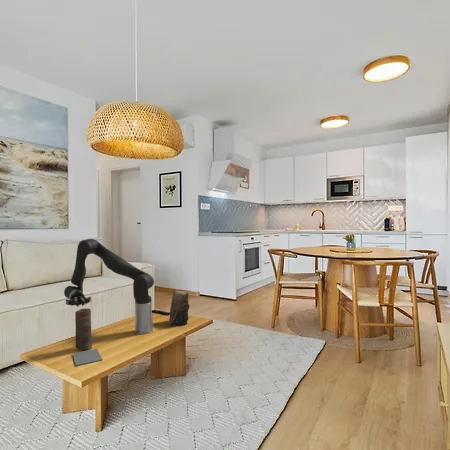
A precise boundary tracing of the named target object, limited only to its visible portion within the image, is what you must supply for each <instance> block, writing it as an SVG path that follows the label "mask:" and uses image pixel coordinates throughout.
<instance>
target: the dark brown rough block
mask: <svg viewBox="0 0 450 450" xmlns="http://www.w3.org/2000/svg"><path fill="white" fill-rule="evenodd" d="M189 295H190V294H189V292H187V291H186V290H184V291H182V290H181V291H180V290H177V289H173V294H172V298H171V303H170V310H169V318H168V319H169V320H168V322H169V325H168V326H169V327H179V326H180V327H181V326H187V325H188V321H189V310H190V304H189Z"/></svg>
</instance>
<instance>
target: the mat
mask: <svg viewBox="0 0 450 450" xmlns="http://www.w3.org/2000/svg"><path fill="white" fill-rule="evenodd" d="M72 357H73V360H74V361H73V362H74V364H75V367H80V366H85V365H88V364H93V363H97V362H102V361H103V358H102V355H101V354H100V352H99V350H98V348H94V349H93V348H92V349H87V350H84V351H78V352H73V353H72Z"/></svg>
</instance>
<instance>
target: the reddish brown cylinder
mask: <svg viewBox="0 0 450 450" xmlns="http://www.w3.org/2000/svg"><path fill="white" fill-rule="evenodd" d="M74 313H75V315H74V316H75V349H77V350H92V349H93V347H92V346H93V342H92V341H93V340H92V339H93V338H92V337H93V336H92V309H91V308H81V309H78V310H77V311H74Z"/></svg>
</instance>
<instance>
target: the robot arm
mask: <svg viewBox="0 0 450 450" xmlns="http://www.w3.org/2000/svg"><path fill="white" fill-rule="evenodd" d="M92 254H93V255H95V256H97V257H98V258H100V259H101V260H102V261H103V263H104V265H105V267H106V268H107V269H108V270H110V271H112V272H113V273H115V274H117V275H120V276H123V277H127V278H129V279H132V281H133V284H132V287H133V289H132V290H133V291H132V292H133V298H134V303H135V304H134V308H135V309H134V315H135V318H134V319H135V321H134V323H135V326H134V327H135V329H134V332H135V334H138V335H146V334H149V333H151V332H154V331H153V330H154V327H153V326H154V319H153V318H154V316H153V314H152V312H153V311H152V310H153V309H152V307H153V306H152V303H153V301H152V296H151V295H149V290H150V289H151V288H152V287H153V286H154V284H155V279H154V277H153V276H152V275H151V274H149V273H147V272H145V271H143V270H141V269H139V268H137V267H136V266H135V265H133V264H131V263H129V261H127V260H126V259H124V258H123V257H121V256H119V255H117V254H116V253H115V252H114V251H111V250H110V249H108V248H107V247H105V245H103V244H101V243H100V242H99V241H98V240H97V239H94V238H87V239H82V240H80V241H79V243H78V244H77V249H76V257H75V265H74V269H73V273H72V276H71V279H70V284H72V285H67V286H66V287H65V288H64V290H63V294H64V297H65V298H66V299H65V305H66V306H71V307H72V306H76V307H79V306H82V307H84V306H86V305H87V304H89V303H90V302H92V297H91V296H87V297H86V296H85V295H84V291H83V290H84V286H83V284H84V281H85V277H86V276H87V267H86V260H87V258H88V255H89V256H90V255H92ZM73 285H74V286H73Z"/></svg>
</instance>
